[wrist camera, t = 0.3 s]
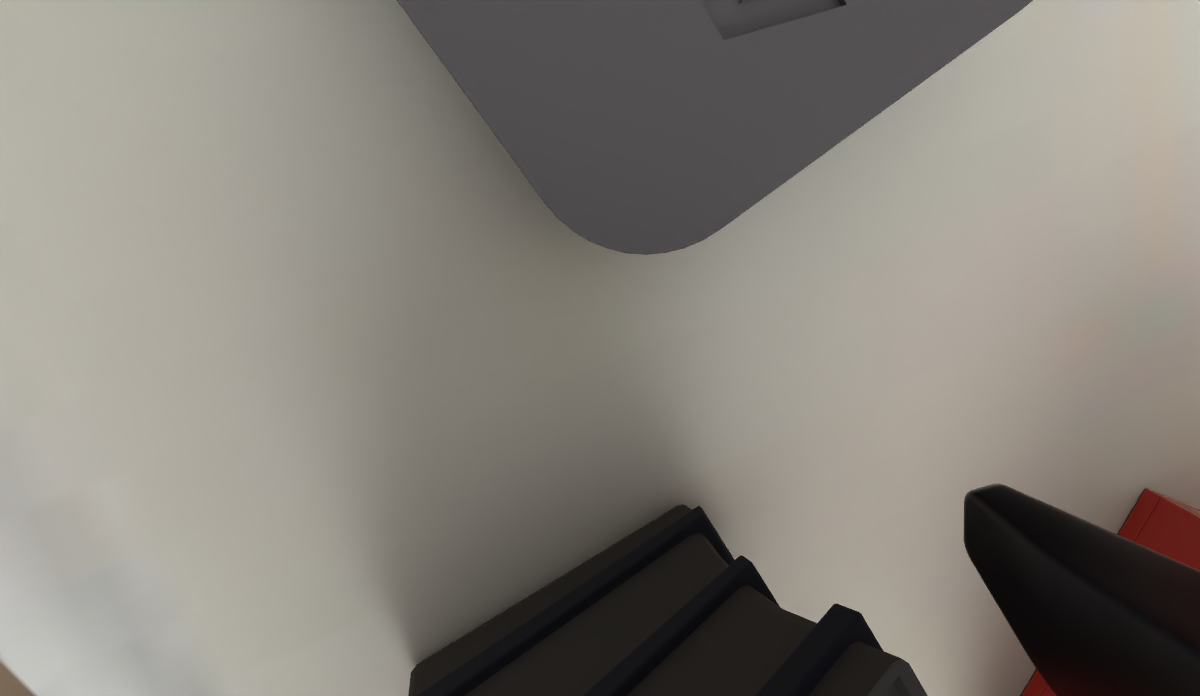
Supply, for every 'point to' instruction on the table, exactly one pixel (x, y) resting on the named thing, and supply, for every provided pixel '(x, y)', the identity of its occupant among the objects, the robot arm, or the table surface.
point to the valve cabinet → (1152, 544)
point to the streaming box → (685, 95)
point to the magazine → (664, 632)
